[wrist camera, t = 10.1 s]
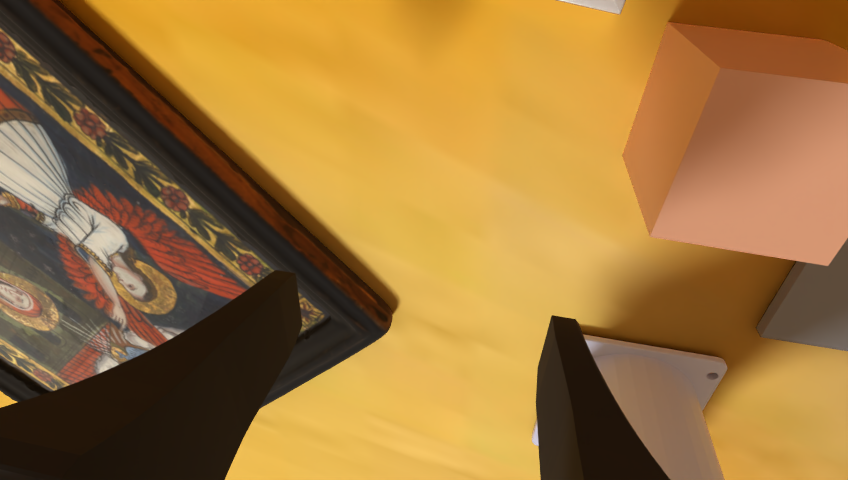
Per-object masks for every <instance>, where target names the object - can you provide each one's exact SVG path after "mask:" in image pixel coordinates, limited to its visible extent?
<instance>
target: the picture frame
mask: <svg viewBox="0 0 848 480" xmlns="http://www.w3.org/2000/svg"><path fill="white" fill-rule="evenodd" d="M557 1H561V2H566V3H570V4H574V5H579V6H583V7H588V8H592V9H597V10H601V11H605V12H610V13H614V14H619V15H620V14H621V11H622V9H623V6H624V3H625V1H626V0H557Z"/></svg>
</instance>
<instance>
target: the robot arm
mask: <svg viewBox="0 0 848 480" xmlns="http://www.w3.org/2000/svg"><path fill="white" fill-rule="evenodd" d="M302 325H303V324H302V317H301V309H300V302H299V294H298V287H297V279H296V273H292V272H286V271H280V270H275V271H273V272H272V273H270V274H269V275H267V276H266V277H264V278H263V279H262V280H260V281H259V282H257V283H256V284H255V285H253V286H252V287H250V288H249V289H248V290H246V291H245V292H243V293H242V294H240V295H239V296H238V297H236V298H235V299H233V300H232V301H230V302H229V303H227V304H226V305H224V306H223V307H221V308H220V309H219V310H217V311H216V312H214V313H212V314H211V315H209V316H208V317H206V318H204V319H203V320H201V321H200V322H198V323H196V324H195V325H193V326H192V327H190V328H188V329H187V330H185V331H184V332H182V333H180V334H179V335H177V336H175V337H173V338H171V339H170V340H168V341H166V342H164V343H162V344H160V345H159V346H157V347H155V348H153V349H151V350H149V351H147V352H145V353H143V354H141V355H139V356H137V357H135V358H132V359H130V360H128V361H126V362H124V363H121V364H119V365H117V366H115V367H113V368H110V369H108V370H106V371H104V372H101V373H99V374H97V375H94V376H92V377H89V378H86V379H84V380H81V381H79V382H76V383H74V384H71V385H68V386H65V387H63V388H60V389H57V390H55V391H52V392H49V393H46V394H43V395H40V396H37V397H33V398H30V399H27V400H24V401H21V402H18V403H14V404H11V405H8V406H5V407H2V408H0V480H225V477H226V475H227V473H228V470H229V468H230V466H231V464H232V461H233V459H234V457H235V455H236V453H237V450H238V448H239V446H240V444H241V442H242V439H243V437H244V435H245V434H246V432H247V430H248V428H249V426H250V424H251V422H252V420H253V419H254V417H255V415H256V414H257V412H258V410H259V408H260V407H261V405H262V403H263V402H264V400H265V398H266V397H267V395H268V393H269V391H270V390H271V388H272V386H273V385H274V383H275V381H276V379H277V378H278V376H279V374H280V372H281V371H282V369H283V367H284V365H285V364H286V362H287V360H288V358H289V357H290V354H291V352H292V350H293V347H294V345H295V343H296V340H297V338H298V335H299V333H300V330H301V328H302ZM726 371H727V365H726V363H725V360H723V359H722V358H719V357H714V356H708V355H702V354H696V353H690V352H684V351H678V350H673V349H667V348H661V347H655V346H649V345H643V344H637V343H631V342H625V341H619V340H613V339H607V338H601V337H595V336H590V335H584V334H583V333H582V331H581V329H580V326H579V323H578V322H577V321H576V319H571V318H565V317H558V316H552V317H551V321H550V324H549V328H548V332H547V335H546V339H545V343H544V347H543V350H542V354H541V358H540V361H539V365H538V374H537V393H536V411H537V420H536V423H535V427H534V430H533V433H532V442H533V443H534V444H535V445H537V446H539V459H540V474H541V480H724V477H723V474H722V471H721V468H720V465H719V462H718V459H717V455H716V452H715V449H714V446H713V443H712V440H711V437H710V434H709V431H708V428H707V425H706V422H705V419H704V416H703V413H702V411H703V409H704V408H705V406H706V404H707V403H708V401H709V399H710V398H711V396H712V394H713V393H714V391H715V389H716V388H717V386H718V384H719V383H720V381H721V379H722V378H723V376H724V374H725V373H726ZM709 373H711V374H709Z"/></svg>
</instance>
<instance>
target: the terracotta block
mask: <svg viewBox="0 0 848 480" xmlns="http://www.w3.org/2000/svg"><path fill="white" fill-rule="evenodd" d="M622 156H623V159H624V162H625V165H626V168H627V171H628V174H629V177H630V179H631V182H632V185H633V188H634V191H635V194H636V197H637V200H638V203H639V206H640V209H641V212H642V215H643V218H644V221H645V224H646V227H647V229H648V232H649V235H650V237H654V238H660V239H667V240H673V241H679V242H685V243H691V244H697V245H703V246H709V247H715V248H721V249H727V250H733V251H739V252H746V253H752V254H758V255H764V256H770V257H776V258H782V259H788V260H794V261H800V262H806V263H812V264H818V265H825V266H828V265H829V264H830V263H831V261H832V260H833V258H834V257H835V255H836V254H837V253H838V251H839V250H840V248H841V247H842V245H843V244H844V243H845V241H846V240H847V238H848V50H845V49H843V48H841V47H839V46H837V45H834V44H832V43H830V42H828V41H826V40H821V39H812V38H804V37H795V36H786V35H777V34H769V33H760V32H751V31H742V30H734V29H725V28H716V27H707V26H699V25H690V24H681V23H672V22H667V25H666V28H665V31H664V34H663V37H662V40H661V43H660V46H659V49H658V52H657V55H656V58H655V61H654V64H653V67H652V70H651V72H650V75H649V78H648V81H647V84H646V87H645V90H644V93H643V96H642V99H641V102H640V105H639V108H638V111H637V114H636V117H635V120H634V123H633V126H632V129H631V132H630V135H629V138H628V141H627V144H626V147H625V149H624V152H623V155H622Z"/></svg>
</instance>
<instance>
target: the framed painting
mask: <svg viewBox="0 0 848 480" xmlns="http://www.w3.org/2000/svg"><path fill="white" fill-rule="evenodd" d="M275 270H280V271H286V272H292V273H296V279H297V287H298V294H299V302H300V309H301V317H302V324H303V325H302V328H301V330H300V333H299V335H298V338H297V340H296V343H295V345H294V347H293V350H292V352H291V354H290V357H289V358H288V360H287V362H286V364H285V365H284V367H283V369H282V371H281V372H280V374H279V376H278V378H277V379H276V381H275V383H274V385H273V386H272V388H271V390H270V391H269V393H268V395H267V397H266V398H265V400H264V402H263V403H262V405H261V407H260V408H262V407H263V406H265V405H267V404H269V403H270V402H272V401H274V400H276V399H277V398H279V397H281V396H283V395H285V394H286V393H288V392H290V391H291V390H293V389H295V388H297V387H298V386H300V385H302V384H304V383H305V382H307V381H309V380H311V379H312V378H314V377H316V376H318V375H319V374H321V373H323V372H325V371H326V370H328V369H330V368H332V367H333V366H335V365H337V364H338V363H340V362H342V361H344V360H345V359H347V358H349V357H350V356H352V355H354V354H355V353H357V352H359V351H360V350H362V349H364V348H365V347H367V346H369V345H370V344H372V343H373V342H375V341H376V340H378V339H379V338H381V337H382V336H383V335H385V334H386V333H387V332H388V330H389V328H390V326H391V322H392V311H391V309H390V308H389V306H388V305H387V304H386V303H385V302H384V301H383V300H382V299H381V298H380V297H379V296H378V295H377V294H376V293H375V292H374V291H373V290H372V289H371V288H370V287H369V286H368V285H367V284H366V283H364V282H363V281H362V280H361V279H360V278H359V277H358V276H357V275H356V274H355V273H354V272H353V271H351V270H350V269H349V268H348V267H347V266H346V265H345V264H344V263H343V262H342V261H341V260H340V259H338V258H337V257H336V256H335V255H334V254H333V253H332V252H331V251H330V250H329V249H328V248H327V247H325V246H324V245H323V244H322V243H321V242H320V241H319V240H318V239H317V238H316V237H315V236H313V235H312V234H311V233H310V232H309V231H308V230H307V229H306V228H305V227H304V226H303V225H301V224H300V223H299V222H298V221H297V220H296V219H295V218H294V217H293V216H292V215H291V214H290V213H289V212H287V211H286V210H285V209H284V208H283V207H282V206H281V205H280V204H279V203H278V202H277V201H275V200H274V199H273V198H272V197H271V196H270V195H269V194H268V193H267V192H266V191H265V190H264V189H262V188H261V187H260V186H259V185H258V184H257V183H256V182H255V181H254V180H253V179H252V178H251V177H249V176H248V175H247V174H246V173H245V172H244V171H243V170H242V169H241V168H240V167H239V166H238V165H237V164H236V163H234V162H233V161H232V160H231V159H230V158H229V157H228V156H227V155H226V154H225V153H224V152H222V151H221V150H220V149H219V148H218V147H217V146H216V145H215V144H214V143H213V142H212V141H210V140H209V139H208V138H207V137H206V136H205V135H204V134H203V133H202V132H201V131H200V130H199V129H197V128H196V127H195V126H194V125H193V124H192V123H191V122H190V121H188V120H187V119H186V118H185V117H184V116H183V115H182V114H181V113H180V112H179V111H178V110H177V109H176V108H174V107H173V106H172V105H171V104H170V103H169V102H168V101H167V100H166V99H165V98H164V97H163V96H161V95H160V94H159V93H158V92H157V91H156V90H155V89H154V88H153V87H152V86H151V85H150V84H148V83H147V82H146V81H145V80H144V79H143V78H142V77H141V76H140V75H139V74H138V73H137V72H135V71H134V70H133V69H132V68H131V67H130V66H129V65H128V64H127V63H126V62H124V61H123V60H122V59H121V58H120V57H119V56H118V55H117V54H116V53H115V52H113V51H112V50H111V49H110V48H109V47H108V46H107V45H106V44H105V43H104V42H103V41H102V40H100V39H99V38H98V37H97V36H96V35H95V34H94V33H93V32H92V31H91V30H90V29H89V28H87V27H86V26H85V25H84V24H83V23H82V22H81V21H80V20H79V19H78V18H77V17H76V16H74V15H73V14H72V13H71V12H70V11H69V10H68V9H67V8H66V7H65V6H64V5H63V4H61V3H60V2H59V1H58V0H0V391H1V392H3V393H4V394H5V395H7V396H9V397H10V398H11V399H12V400H15V401H17V402H21V401H24V400H27V399H30V398H33V397H37V396H40V395H43V394H46V393H49V392H52V391H55V390H57V389H60V388H63V387H65V386H68V385H71V384H74V383H76V382H79V381H81V380H84V379H86V378H89V377H92V376H94V375H97V374H99V373H101V372H104V371H106V370H108V369H110V368H113V367H115V366H117V365H119V364H121V363H124V362H126V361H128V360H130V359H132V358H135V357H137V356H139V355H141V354H143V353H145V352H147V351H149V350H151V349H153V348H155V347H157V346H159V345H160V344H162V343H164V342H166V341H168V340H170V339H171V338H173V337H175V336H177V335H179V334H180V333H182V332H184V331H185V330H187V329H188V328H190V327H192V326H193V325H195V324H196V323H198V322H200V321H201V320H203V319H204V318H206V317H208V316H209V315H211V314H212V313H214V312H216V311H217V310H219V309H220V308H221V307H223V306H224V305H226V304H227V303H229V302H230V301H232V300H233V299H235V298H236V297H238V296H239V295H240V294H242V293H243V292H245V291H246V290H248V289H249V288H250V287H252V286H253V285H255V284H256V283H257V282H259V281H260V280H262V279H263V278H264V277H266V276H267V275H269V274H270V273H272V272H273V271H275ZM260 408H259V409H260Z"/></svg>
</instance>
